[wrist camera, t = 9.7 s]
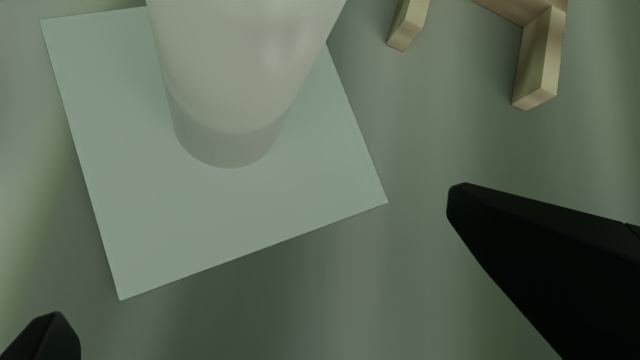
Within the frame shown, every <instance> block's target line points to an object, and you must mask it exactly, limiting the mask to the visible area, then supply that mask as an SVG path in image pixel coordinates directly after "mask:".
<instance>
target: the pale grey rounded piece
mask: <svg viewBox="0 0 640 360" xmlns="http://www.w3.org/2000/svg"><path fill="white" fill-rule="evenodd" d="M346 1H347V0H146V5H147V9H148V14H149V19H150V23H151V28H152V32H153V37H154V41H155V46H156V51H157V55H158V60H159V64H160V69H161V73H162V78H163V83H164V87H165V92H166V96H167V101H168V105H169V110H170V115H171V119H172V124H173V128H174V132H175V134H176V137H177V139H178V141H179V142H180V144H181V145H182V147H183V148H184V149H185V150H186V151H187V152H188V153H189V154H190V155H191V156H193V157H194V158H195V159H197V160H199V161H200V162H202V163H204V164H207V165H209V166H213V167H217V168H224V169H233V168H240V167H244V166H247V165H250V164H252V163H254V162H256V161H257V160H259V159H261V158H262V157H263V156H264V155H265V154H266V153H267V152H268V151H269V150H270V148H271V147H272V145H273V144H274V142H275V140H276V138H277V136H278V134H279V132H280V130H281V128H282V126H283V124H284V122H285V120H286V118H287V116H288V114H289V112H290V110H291V108H292V106H293V104H294V102H295V101H296V99H297V97H298V95H299V93H300V91H301V89H302V87H303V85H304V83H305V81H306V79H307V77H308V75H309V73H310V71H311V69H312V67H313V65H314V63H315V61H316V59H317V57H318V55H319V53H320V52H321V50H322V48H323V46H324V44H325V42H326V40H327V38H328V36H329V34H330V32H331V30H332V28H333V26H334V24H335V22H336V20H337V18H338V16H339V14H340V12H341V10H342V8H343V6H344V4H345V3H346Z"/></svg>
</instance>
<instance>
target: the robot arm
mask: <svg viewBox="0 0 640 360" xmlns="http://www.w3.org/2000/svg"><path fill="white" fill-rule="evenodd" d="M446 214H447V218H448V220H449V222H450V224H451V225H452V226H453V228H454V229H455V231H456V232H457V233H458V235H459V236H460V238H461V239H462V240H463V242H464V243H465V245H466V246H467V247H468V249H469V250H470V252H471V253H472V254H473V256H474V257H475V259H476V260H477V261H478V263H479V264H480V265H481V267H482V268H483V269H484V270H485V271H486V273H487V274H488V275H489V276H490V277H491V278H492V280H493V281H494V282H495V283H496V284H497V285H498V286H499V288H500V289H501V290H502V291H503V292H504V293H505V294H506V296H507V297H508V298H509V299H510V300H511V301H512V302H513V304H514V305H515V306H516V307H517V308H518V309H519V310H520V311H521V313H522V314H523V315H524V316H525V317H526V318H527V319H528V321H529V322H530V323H531V324H532V325H533V326H534V327H535V329H536V330H537V331H538V332H539V333H540V334H541V335H542V337H543V338H544V339H545V340H546V341H547V342H548V343H549V345H550V346H551V347H552V348H553V349H554V350H555V351H556V353H557V354H558V355H559V356H560V357H561V358H562V359H563V360H640V226H636V225H632V224H628V223H625V224H623V223H622V222H620V221H616V220H612V219H608V218H604V217H600V216H596V215H592V214H588V213H585V212H581V211H577V210H573V209H569V208H565V207H561V206H557V205H553V204H549V203H545V202H541V201H537V200H533V199H530V198H526V197H522V196H518V195H514V194H510V193H506V192H502V191H498V190H494V189H490V188H486V187H482V186H478V185H475V184H471V183H466V182H464V183H460V184H457V185H453V186H451V187H450V189H449V191H448V199H447V209H446ZM0 360H81V345H80V341H79V338H78V336H77V334H76V333H75V331H74V330H73V328H72V327H71V325H70V324H69V322H68V321H67V319H66V318H65V316H64V315H63V314H62V313H61V312H59V311H54V312H51V313H48V314H45V315H42V316H38V317H36V318H34V319H33V320H32V321H31V322H30V323H29V324H28V325H27V326H26V327H25V329H24V330H23V331H22V332H21V333H20V334H19V335H18V336H17V337H16V339H15V340H14V341H13V342H12V343H11V344H10V345H9V346H8V347H7V348H6V350H5V351H4V352H3V353H2V354H1V355H0Z"/></svg>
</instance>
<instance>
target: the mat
mask: <svg viewBox="0 0 640 360" xmlns="http://www.w3.org/2000/svg"><path fill="white" fill-rule="evenodd" d="M39 21H40V25H41V28H42V32H43V35H44V39H45V42H46V46H47V49H48V53H49V56H50V60H51V63H52V67H53V70H54V74H55V77H56V81H57V84H58V88H59V91H60V95H61V98H62V102H63V105H64V108H65V112H66V115H67V119H68V122H69V126H70V129H71V133H72V136H73V140H74V143H75V147H76V150H77V154H78V157H79V161H80V164H81V168H82V171H83V175H84V178H85V182H86V185H87V189H88V192H89V196H90V199H91V203H92V206H93V209H94V213H95V216H96V220H97V223H98V227H99V230H100V234H101V237H102V241H103V244H104V248H105V251H106V255H107V258H108V262H109V265H110V269H111V272H112V276H113V279H114V283H115V286H116V290H117V293H118V297H119V300H120V301H122V300H124V299H127V298H130V297H133V296H135V295H138V294H141V293H144V292H146V291H149V290H152V289H154V288H157V287H160V286H163V285H165V284H168V283H171V282H174V281H176V280H179V279H182V278H184V277H187V276H190V275H193V274H195V273H198V272H201V271H203V270H206V269H209V268H212V267H214V266H217V265H220V264H223V263H225V262H228V261H231V260H233V259H236V258H239V257H242V256H244V255H247V254H250V253H253V252H255V251H258V250H261V249H263V248H266V247H269V246H272V245H274V244H277V243H280V242H282V241H285V240H288V239H291V238H293V237H296V236H299V235H302V234H304V233H307V232H310V231H312V230H315V229H318V228H321V227H323V226H326V225H329V224H332V223H334V222H337V221H340V220H342V219H345V218H348V217H351V216H353V215H356V214H359V213H361V212H364V211H367V210H370V209H372V208H375V207H378V206H381V205H383V204H386V203H388V200H387V197H386V195H385V192H384V190H383V187H382V184H381V182H380V179H379V177H378V174H377V172H376V169H375V167H374V164H373V162H372V159H371V157H370V154H369V152H368V149H367V146H366V144H365V141H364V139H363V136H362V134H361V131H360V129H359V126H358V124H357V121H356V119H355V116H354V114H353V111H352V108H351V106H350V103H349V101H348V98H347V96H346V93H345V91H344V88H343V86H342V83H341V81H340V78H339V76H338V73H337V70H336V68H335V65H334V63H333V60H332V58H331V55H330V53H329V50H328V48H327V45H326V43H325V44H324V46H323V48H322V50H321V52H320V53H319V55H318V57H317V59H316V61H315V63H314V65H313V67H312V69H311V71H310V73H309V75H308V77H307V79H306V81H305V83H304V85H303V87H302V89H301V91H300V93H299V95H298V97H297V99H296V101H295V102H294V104H293V106H292V108H291V110H290V112H289V114H288V116H287V118H286V120H285V122H284V124H283V126H282V128H281V130H280V132H279V134H278V136H277V138H276V140H275V142H274V144H273V145H272V147H271V148H270V150H269V151H268V152H267V153H266V154H265V155H264V156H263V157H262V158H261V159H259V160H257V161H256V162H254V163H252V164H250V165H247V166H244V167H240V168H233V169H224V168H217V167H213V166H209V165H207V164H204V163H202V162H200V161H199V160H197V159H195V158H194V157H193V156H191V155H190V154H189V153H188V152H187V151H186V150H185V149H184V148H183V147H182V145H181V144H180V142H179V141H178V139H177V137H176V134H175V132H174V128H173V124H172V119H171V115H170V110H169V105H168V101H167V96H166V92H165V87H164V83H163V78H162V73H161V69H160V64H159V60H158V55H157V51H156V46H155V41H154V37H153V32H152V28H151V23H150V19H149V14H148V9H147V6H143V7H135V8H127V9H119V10H111V11H104V12H96V13H88V14H80V15H72V16H64V17H56V18H48V19H41V20H39Z"/></svg>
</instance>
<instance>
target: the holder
mask: <svg viewBox="0 0 640 360" xmlns="http://www.w3.org/2000/svg"><path fill="white" fill-rule="evenodd" d="M472 1H474V2H476V3H478V4H480V5H482V6H484V7H485V8H487V9H489V10H491V11H493V12H495V13H497V14H499V15H501V16H502V17H504V18H506V19H508V20H510V21H512V22H514V23H516V24H518V25H519V26H521V27H523V28H524V29H523V35H522V41H521V47H520V53H519V59H518V65H517V71H516V77H515V84H514V90H513V96H512V102H511V105H513V106H515V107H517V108H519V109H521V110H523V111H527V110H529V109H531V108H533V107H535V106H537V105H539V104H541V103H543V102H545V101H547V100H549V99H551V98H552V97H554V96H556V94H557V85H558V77H559V69H560V61H561V52H562V44H563V36H564V28H565V20H566V11H567V3H568V0H472ZM429 3H430V0H399V2H398V5H397V9H396V12H395V15H394V19H393V22H392V25H391V28H390V32H389V35H388V38H387V42H386V44H387V45H389V46H391V47H393V48H395V49H397V50H399V51H401V52H403V51H404V49H405V48H406V47H407V46H408V45H409V44H410V43H411V41H412V40H413V39H414V38H415V37H416V36H417V35H418V33H419V32H420V31H421V30H422V29H423V26H424V22H425V18H426V14H427V11H428V7H429Z"/></svg>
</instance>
